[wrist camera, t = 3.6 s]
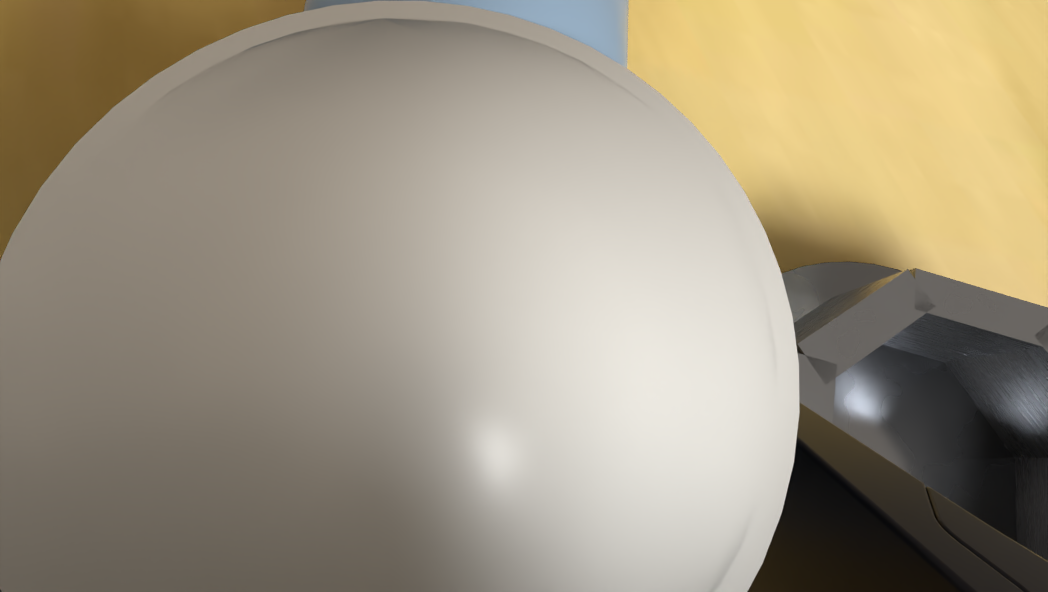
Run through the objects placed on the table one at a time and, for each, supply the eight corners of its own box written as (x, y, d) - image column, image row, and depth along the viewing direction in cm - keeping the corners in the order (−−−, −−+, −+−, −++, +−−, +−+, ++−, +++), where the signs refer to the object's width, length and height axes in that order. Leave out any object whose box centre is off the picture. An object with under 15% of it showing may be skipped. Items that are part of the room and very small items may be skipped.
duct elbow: (542, 532, 15) (831, 814, 4) (313, 520, 14) (-208, 823, 3) (560, 208, 18) (757, -200, 7) (369, 184, 17) (210, -323, 6)
